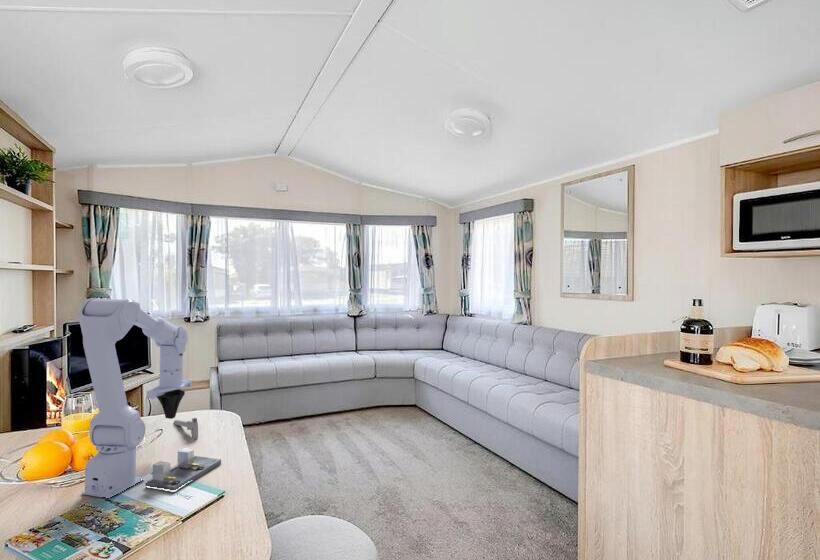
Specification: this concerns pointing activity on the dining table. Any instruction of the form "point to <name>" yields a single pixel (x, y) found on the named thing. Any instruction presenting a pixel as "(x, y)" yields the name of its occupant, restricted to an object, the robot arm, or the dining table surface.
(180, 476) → the gauge plate
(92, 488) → the robot arm
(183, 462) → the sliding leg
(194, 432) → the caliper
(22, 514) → the dining table surface
